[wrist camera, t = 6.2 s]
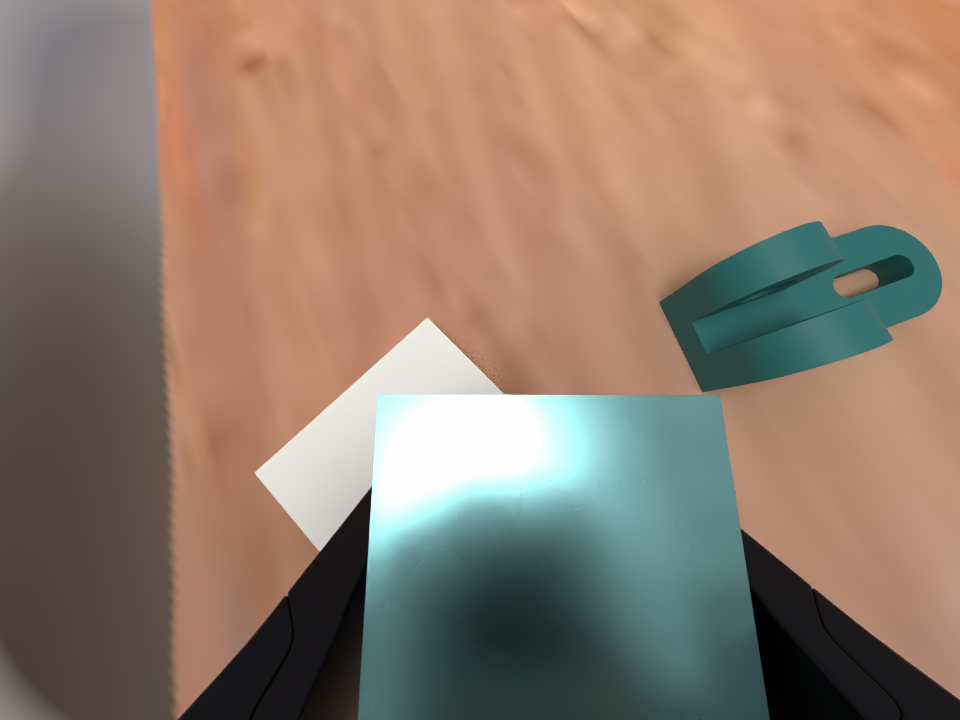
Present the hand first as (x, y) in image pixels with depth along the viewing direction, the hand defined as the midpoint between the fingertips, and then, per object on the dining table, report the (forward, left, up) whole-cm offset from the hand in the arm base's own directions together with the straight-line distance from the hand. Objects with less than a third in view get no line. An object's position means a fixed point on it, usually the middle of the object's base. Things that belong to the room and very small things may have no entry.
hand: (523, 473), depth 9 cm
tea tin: (-1, -1, -7) cm, 7 cm away
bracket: (+22, -9, -14) cm, 28 cm away
